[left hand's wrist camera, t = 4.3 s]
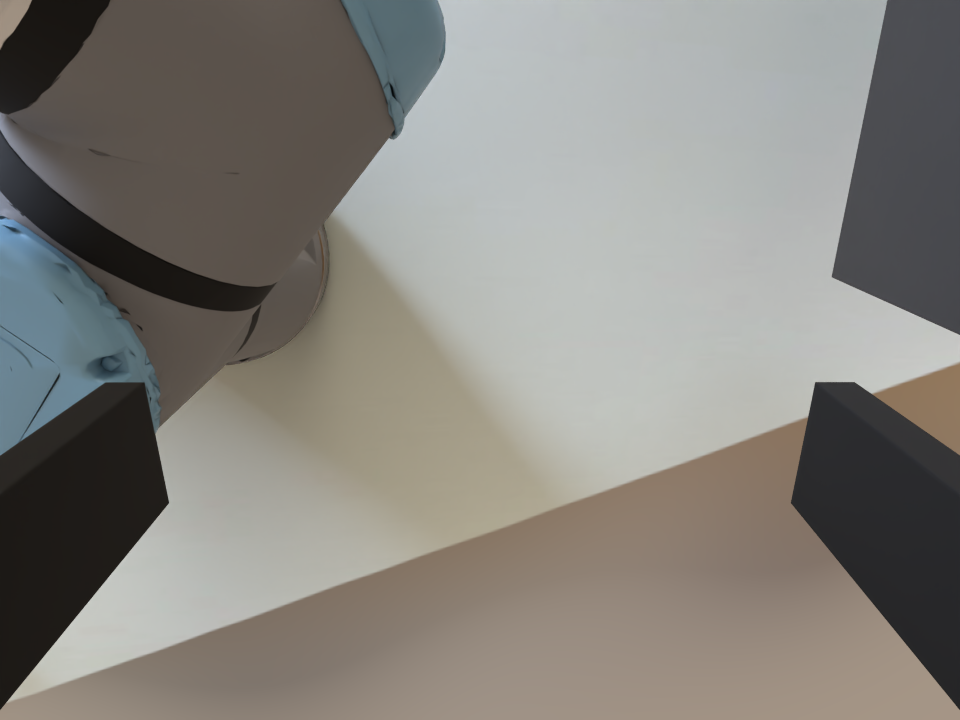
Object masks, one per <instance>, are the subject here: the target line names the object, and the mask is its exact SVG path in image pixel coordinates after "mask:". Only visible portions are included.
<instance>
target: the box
mask: <svg viewBox="0 0 960 720" xmlns="http://www.w3.org/2000/svg"><path fill="white" fill-rule="evenodd" d="M832 277H833V278H835V279H837V280H839V281H842V282H844V283H846V284H848V285H850V286H853V287H855V288H857V289H859V290H862V291H864V292H866V293H868V294H870V295H873V296H875V297H877V298H879V299H882V300H884V301H886V302H888V303H890V304H893V305H895V306H897V307H899V308H902V309H904V310H906V311H908V312H910V313H913V314H915V315H917V316H919V317H922V318H924V319H926V320H928V321H930V322H933V323H935V324H937V325H939V326H942V327H944V328H946V329H948V330H950V331H953V332H955V333H957V334H959V335H960V0H888V1H887V6H886V11H885V16H884V21H883V26H882V30H881V35H880V40H879V45H878V50H877V55H876V60H875V65H874V70H873V75H872V80H871V85H870V90H869V95H868V100H867V105H866V110H865V115H864V120H863V125H862V129H861V134H860V139H859V144H858V149H857V154H856V159H855V164H854V169H853V174H852V179H851V184H850V189H849V194H848V199H847V204H846V209H845V214H844V219H843V224H842V228H841V233H840V238H839V243H838V248H837V253H836V258H835V263H834V268H833V273H832Z"/></svg>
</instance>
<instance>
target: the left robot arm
mask: <svg viewBox="0 0 960 720" xmlns="http://www.w3.org/2000/svg"><path fill="white" fill-rule="evenodd" d="M445 35H446V32H445V25H444V17H443V14H442V11H441V8H440V5H439V3H438V1H437V0H0V709H1V708H2V707H3V706H4V705H5V703H6V702H7V701H8V700H9V698H10V697H11V696H12V695H13V694H14V692H15V691H16V690H17V689H18V687H19V686H20V685H21V684H22V683H23V681H24V680H25V679H26V678H27V676H28V675H29V674H30V673H31V671H32V670H33V669H34V668H35V667H36V665H37V664H38V663H39V662H40V660H41V659H42V658H43V657H44V656H45V654H46V653H47V652H48V651H49V649H50V648H51V647H52V646H53V645H54V643H55V642H56V641H57V640H58V638H59V637H60V636H61V635H62V634H63V632H64V631H65V630H66V629H67V627H68V626H69V625H70V624H71V622H72V621H73V620H74V619H75V618H76V616H77V615H78V614H79V613H80V611H81V610H82V609H83V608H84V607H85V605H86V604H87V603H88V602H89V600H90V599H91V598H92V597H93V596H94V594H95V593H96V592H97V591H98V589H99V588H100V587H101V586H102V584H103V583H104V582H105V581H106V580H107V578H108V577H109V576H110V575H111V573H112V572H113V571H114V570H115V569H116V567H117V566H118V565H119V564H120V562H121V561H122V560H123V559H124V558H125V556H126V555H127V554H128V553H129V551H130V550H131V549H132V548H133V546H134V545H135V544H136V543H137V542H138V540H139V539H140V538H141V537H142V535H143V534H144V533H145V532H146V531H147V529H148V528H149V527H150V526H151V524H152V523H153V522H154V521H155V520H156V518H157V517H158V516H159V515H160V513H161V512H162V511H163V510H164V508H165V507H166V506H167V505H168V504H169V500H168V495H167V490H166V486H165V481H164V476H163V471H162V466H161V461H160V456H159V451H158V446H157V441H156V436H155V433H156V432H157V430H158V428H159V427H160V426H161V425H162V424H163V423H164V422H165V421H166V420H167V419H168V418H169V417H171V416H172V415H173V414H174V413H175V412H176V411H177V410H178V409H179V408H180V407H181V406H182V405H183V404H184V403H185V402H186V401H187V400H189V399H190V398H191V397H192V396H193V395H194V394H195V393H196V392H197V391H198V390H199V389H200V388H201V387H202V386H203V385H204V384H205V383H206V382H208V381H209V380H210V379H211V378H212V377H213V376H214V375H215V374H216V373H217V372H218V371H219V370H220V369H221V368H222V367H223V366H224V365H232V364H239V363H244V362H248V361H252V360H255V359H258V358H261V357H264V356H266V355H268V354H271V353H272V352H274V351H276V350H278V349H280V348H281V347H282V346H284V345H285V344H287V343H288V342H289V341H290V340H291V339H292V338H294V337H295V336H296V335H297V334H298V332H299V331H300V330H301V329H302V328H303V327H304V326H305V325H306V323H307V322H308V321H309V320H310V318H311V317H312V315H313V314H314V312H315V311H316V309H317V307H318V306H319V303H320V301H321V299H322V297H323V294H324V290H325V287H326V283H327V278H328V271H329V250H328V241H327V236H326V232H325V228H324V225H323V223H324V222H325V221H326V219H327V218H328V217H329V215H330V214H331V213H332V212H333V210H334V209H335V208H336V206H337V205H338V204H339V202H340V201H341V200H342V198H343V197H344V196H345V195H346V193H347V192H348V191H349V189H350V188H351V187H352V185H353V184H354V183H355V181H356V180H357V179H358V178H359V176H360V175H361V174H362V172H363V171H364V170H365V168H366V167H367V166H368V164H369V163H370V162H371V161H372V159H373V158H374V157H375V155H376V154H377V153H378V151H379V150H380V149H381V147H382V146H383V145H384V144H385V142H386V141H387V140H388V138H390V139H393V140H394V139H395V138H397V137H398V136H399V134H400V133H401V131H402V129H403V125H404V118H405V117H406V115H407V114H408V112H409V111H410V110H411V108H412V107H413V105H414V104H415V103H416V101H417V100H418V98H419V97H420V95H421V94H422V93H423V91H424V90H425V88H426V87H427V85H428V84H429V83H430V81H431V80H432V78H433V77H434V75H435V74H436V72H437V71H438V69H439V67H440V65H441V62H442V60H443V58H444V54H445ZM791 504H792V505H793V506H794V507H795V508H796V510H797V511H798V512H799V513H800V515H801V516H802V517H803V518H804V520H805V521H806V522H807V523H808V524H809V526H810V527H811V528H812V529H813V531H814V532H815V533H816V534H817V535H818V537H819V538H820V539H821V540H822V542H823V543H824V544H825V545H826V546H827V548H828V549H829V550H830V551H831V553H832V554H833V555H834V556H835V558H836V559H837V560H838V561H839V562H840V564H841V565H842V566H843V567H844V569H845V570H846V571H847V572H848V573H849V575H850V576H851V577H852V578H853V580H854V581H855V582H856V583H857V584H858V586H859V587H860V588H861V589H862V591H863V592H864V593H865V594H866V596H867V597H868V598H869V599H870V600H871V602H872V603H873V604H874V605H875V607H876V608H877V609H878V610H879V611H880V613H881V614H882V615H883V616H884V617H885V619H886V620H887V621H888V622H889V624H890V625H891V626H892V627H893V628H894V630H895V631H896V632H897V633H898V635H899V636H900V637H901V638H902V640H903V641H904V642H905V643H906V645H907V646H908V647H909V648H910V649H911V651H912V652H913V653H914V654H915V656H916V657H917V658H918V659H919V660H920V662H921V663H922V664H923V665H924V667H925V668H926V669H927V670H928V671H929V673H930V674H931V675H932V676H933V678H934V679H935V680H936V681H937V683H938V684H939V685H940V686H941V687H942V689H943V690H944V691H945V692H946V693H947V695H948V696H949V697H950V698H951V700H952V701H953V702H954V703H955V705H956V706H957V707H958V708H959V709H960V455H958V454H957V453H955V452H954V451H953V450H951V449H950V448H948V447H947V446H945V445H944V444H943V443H941V442H940V441H938V440H937V439H935V438H934V437H932V436H931V435H930V434H928V433H927V432H925V431H924V430H922V429H921V428H919V427H918V426H917V425H915V424H914V423H912V422H911V421H909V420H908V419H907V418H905V417H904V416H902V415H901V414H899V413H898V412H897V411H895V410H894V409H892V408H891V407H889V406H888V405H886V404H885V403H884V402H882V401H881V400H879V399H878V398H876V397H875V396H874V395H872V394H871V393H869V392H868V391H866V390H865V389H863V388H862V387H861V386H859V385H858V384H856V383H855V382H815V387H814V392H813V397H812V402H811V407H810V412H809V416H808V422H807V426H806V431H805V436H804V441H803V446H802V451H801V456H800V461H799V466H798V471H797V476H796V481H795V485H794V490H793V495H792V500H791Z"/></svg>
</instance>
